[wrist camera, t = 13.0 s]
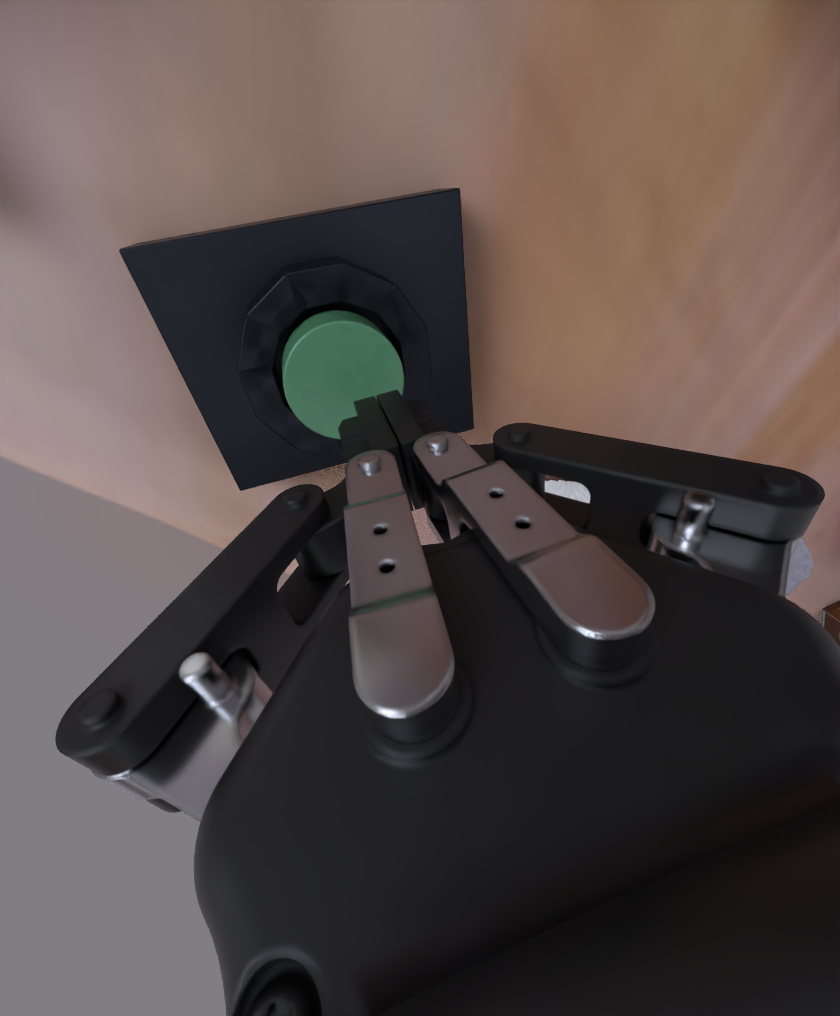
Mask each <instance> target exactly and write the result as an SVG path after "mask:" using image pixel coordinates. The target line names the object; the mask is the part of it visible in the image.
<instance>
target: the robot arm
mask: <svg viewBox="0 0 840 1016" xmlns="http://www.w3.org/2000/svg"><path fill="white" fill-rule="evenodd" d="M354 406H355V409H356V413H357V416H355V417H351V418H348V419H344V420H342V422H341V424H340V426H339V428H338V431H339V434H340V438H341V442H342V446H343V450H344V454H345V457H346V461H347V464H346V467H345V476H346V477H345V478H344V479H343V480H342V481H341V482H340V483H339V484H338V485H336V486H335V487H333V488H331V489H329V490H327V491H326V492H323V490H322V489H321V488H320V487H319V486H316V485H312V484H304V485H298V486H295V487H292V488H289V489H287V490H285V491H284V492H282V493H281V494H279V495H278V496H277V497H276V498H275V499H274V500H273V501H272V502H271V503H270V504H269V505H268V506H267V507H266V508H265V509H264V510H263V511H262V512H261V513H260V514H259V515H258V516H257V517H256V518H255V519H254V520H253V521H252V522H251V523H250V524H249V525H248V526H247V527H246V528H245V529H244V530H243V531H242V532H241V533H240V534H239V535H238V536H237V537H236V538H235V539H234V540H233V541H232V542H231V543H230V544H229V545H228V546H227V547H226V548H225V549H224V550H223V551H222V552H221V553H220V554H219V555H218V556H217V557H216V558H215V559H214V560H213V561H212V562H211V564H209V565H208V566H207V567H206V568H205V569H204V570H203V571H202V572H201V573H200V575H199V576H197V578H196V579H195V580H194V581H193V582H192V583H191V584H190V585H189V586H188V587H187V588H186V589H185V590H184V591H183V592H182V593H181V594H180V595H179V596H178V597H177V598H176V599H175V600H174V601H173V602H172V603H171V604H170V605H169V606H168V607H167V608H166V609H165V610H164V611H163V612H162V613H161V614H160V615H159V616H158V617H157V618H156V619H155V620H154V621H153V622H152V623H151V624H150V625H149V626H148V627H147V628H146V629H145V630H144V631H143V632H142V633H141V634H140V635H139V636H138V637H137V638H136V639H135V640H134V641H133V642H132V643H131V644H130V645H129V646H128V647H127V648H126V649H125V650H124V651H123V652H122V653H121V654H120V655H119V656H118V657H117V658H116V659H115V660H114V661H113V662H112V663H111V664H110V665H109V666H108V668H106V669H105V671H103V673H102V674H100V675H99V677H98V678H97V679H96V680H95V681H94V682H93V683H92V684H91V685H90V686H89V687H88V688H87V689H86V690H85V691H84V692H83V693H82V694H81V695H80V696H79V697H78V698H77V699H76V700H75V701H74V702H73V703H72V705H71V706H70V707H69V708H68V710H67V711H66V713H65V714H64V716H63V718H62V719H61V721H60V723H59V726H58V729H57V732H56V746H57V749H58V750H59V751H60V752H61V753H62V754H64V755H66V756H67V757H69V758H71V759H73V760H75V761H76V762H78V763H80V764H82V765H84V766H85V767H87V768H89V769H91V770H92V772H93V773H94V775H95V776H97V777H99V778H100V779H102V780H104V781H106V782H107V783H109V784H111V785H113V786H115V787H117V788H118V789H120V790H123V791H124V792H126V793H127V794H129V795H131V796H133V797H135V798H137V799H140V800H146V801H148V802H150V803H151V804H153V805H155V806H157V807H159V808H160V809H162V810H164V811H167V812H180V811H183V812H184V813H186V814H188V815H190V816H191V817H193V818H194V819H196V820H198V821H200V822H201V823H200V826H199V830H198V835H197V840H196V845H195V854H194V881H195V889H196V894H197V899H198V903H199V906H200V909H201V912H202V914H203V917H204V919H205V921H206V924H207V926H208V928H209V930H210V933H211V936H212V938H213V942H214V945H215V948H216V952H217V955H218V959H219V964H220V969H221V974H222V979H223V987H224V994H225V1003H226V1016H840V647H839V645H838V644H837V643H836V641H835V640H834V639H833V637H832V636H831V635H830V633H829V632H828V631H827V630H826V629H825V628H824V627H823V626H822V625H821V624H820V623H819V622H818V621H817V620H816V619H814V618H813V617H812V616H811V615H810V614H809V613H807V612H806V611H805V610H803V609H802V608H800V607H799V606H797V605H796V604H795V603H793V602H791V601H789V600H788V599H786V598H785V594H786V586H787V579H788V571H789V564H790V557H791V555H792V554H793V552H794V550H795V548H796V547H797V545H798V543H799V541H800V540H801V538H802V536H803V534H804V532H805V531H806V529H807V527H808V526H809V524H810V522H811V520H812V519H813V517H814V515H815V513H816V512H817V510H818V508H819V506H820V505H821V503H822V501H823V499H824V497H825V493H824V490H823V488H822V487H821V485H820V484H819V483H818V482H816V481H815V480H814V479H812V478H810V477H809V476H807V475H805V474H802V473H800V472H797V471H794V470H791V469H786V468H782V467H776V466H770V465H765V464H759V463H753V462H748V461H742V460H736V459H730V458H725V457H719V456H713V455H708V454H702V453H696V452H691V451H685V450H679V449H673V448H668V447H662V446H656V445H651V444H645V443H639V442H633V441H628V440H622V439H616V438H611V437H605V436H599V435H594V434H588V433H582V432H576V431H571V430H565V429H559V428H554V427H548V426H542V425H537V424H531V423H514V424H509V425H506V426H503V427H501V428H500V429H498V430H497V431H496V432H495V433H494V435H493V443H491V444H481V445H468V443H467V442H466V441H465V440H464V439H463V438H462V437H461V436H460V435H458V434H456V433H453V432H448V431H446V430H445V429H444V427H443V426H442V424H441V423H440V422H439V420H438V419H437V417H436V416H435V415H434V413H433V412H432V410H431V409H430V408H429V406H428V405H427V404H426V403H424V402H421V401H419V400H417V399H416V400H412V401H408V402H405V401H404V399H403V398H402V396H401V394H400V393H399V391H398V390H393V391H390V392H386V393H382V394H379V395H376V397H375V396H372V397H368V398H364V399H361V400H357V401H354ZM545 475H549V476H554V477H558V478H562V479H566V480H570V481H574V482H578V483H580V484H582V485H584V486H585V487H586V488H587V489H588V491H589V493H590V504H589V503H585V502H581V501H578V500H574V499H570V498H566V497H563V496H559V495H555V494H551V493H548V492H545ZM411 500H412V502H411ZM412 503H413V505H414V507H415V509H420V508H423V507H424V508H425V510H426V514H427V519H428V524H429V526H430V528H431V530H432V531H433V533H434V535H435V536H436V538H437V540H438V541H439V543H438V544H430V545H422V546H421V543H420V539H419V536H418V533H417V529H416V526H415V522H414V519H413V515H412V512H411V511H414V510H413V506H412ZM294 558H296V560H297V562H298V564H299V566H298V567H297V568H296V569H295V571H294V572H293V573H292V574H291V576H290V577H289V578H288V580H287V581H286V582H285V583H284V585H283V586H282V587H281V588H280V590H279V591H278V592H277V584H278V580H279V578H280V576H281V575H282V573H283V572H284V571H285V569H286V568H287V567H288V566H289V565H290V563H291V562H292V561H293V560H294ZM348 580H349V583H348V584H347V585H346V583H347V581H348ZM345 585H346V586H345Z"/></svg>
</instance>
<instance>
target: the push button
mask: <svg viewBox="0 0 840 1016" xmlns="http://www.w3.org/2000/svg"><path fill="white" fill-rule="evenodd" d="M282 376H283V387H284V393H285V396H286V399H287V402H288V404H289V406H290V408H291V410H292V411H293V413H294V414H295V416H296V417H297V418H298V419H299V420H300V421H301V422H302V423H303V424H304V425H305V426H307V427H308V428H309V429H311V430H312V431H314V432H316V433H318V434H321V435H323V436H326V437H330V438H335V439H341V438H340V434H339V431H338V428H339V426H340V424H341V422H342V420H344V419H348V418H351V417H355V416H357V413H356V409H355V406H354V401H357V400H361V399H364V398H368V397H372V396H375V397H376V395H379V394H382V393H386V392H390V391H393V390H398V391H399V393H400V394H401V396H402V394H403V389H404V371H403V366H402V362H401V360H400V357H399V355H398V353H397V351H396V349H395V348H394V346H393V345H392V344H391V342H390V341H389V340H388V339H387V337H386V336H385V335H384V334H383V333H382V331H381V330H380V329H379V328H378V327H377V326H376V325H375V324H373V323H372V322H371V321H369V320H368V319H366V318H365V317H363V316H360V315H358V314H356V313H352V312H348V311H341V310H333V311H326V312H322V313H319V314H316V315H314V316H312V317H310V318H308V319H307V320H305V321H303V322H302V323H301V324H300V325H299V326H298V327H297V328H296V329H295V330H294V331H293V333H292V334H291V336H290V337H289V339H288V341H287V343H286V346H285V349H284V352H283V358H282Z"/></svg>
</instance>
